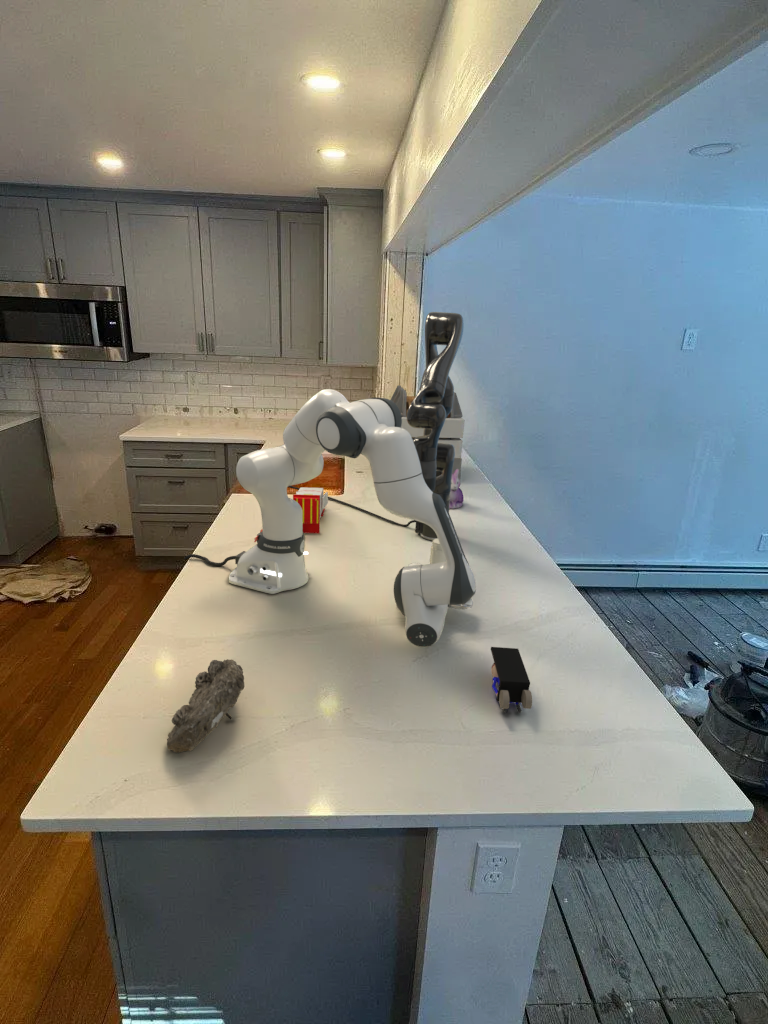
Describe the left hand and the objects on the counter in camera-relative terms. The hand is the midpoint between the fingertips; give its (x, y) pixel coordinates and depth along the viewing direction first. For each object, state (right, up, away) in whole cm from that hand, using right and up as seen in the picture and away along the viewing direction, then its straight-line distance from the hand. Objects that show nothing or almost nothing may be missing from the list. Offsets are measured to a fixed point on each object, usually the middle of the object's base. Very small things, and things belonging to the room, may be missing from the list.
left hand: (437, 578), depth 154 cm
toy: (-42, +15, +55) cm, 71 cm away
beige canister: (0, -6, +1) cm, 6 cm away
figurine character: (+11, -20, -36) cm, 43 cm away
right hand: (-4, +14, +12) cm, 19 cm away
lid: (-5, +2, +16) cm, 17 cm away
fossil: (-47, -21, -46) cm, 69 cm away
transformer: (+3, +37, +121) cm, 126 cm away
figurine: (+14, +21, +77) cm, 81 cm away
